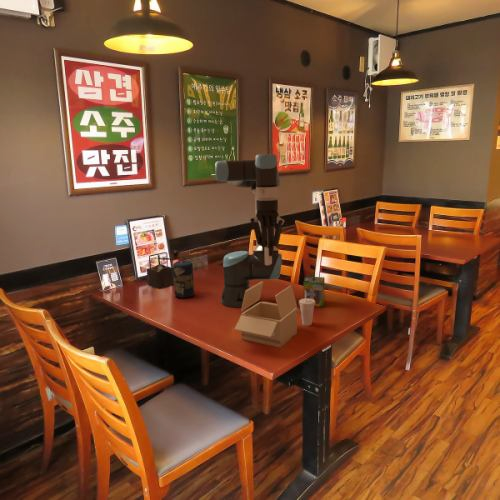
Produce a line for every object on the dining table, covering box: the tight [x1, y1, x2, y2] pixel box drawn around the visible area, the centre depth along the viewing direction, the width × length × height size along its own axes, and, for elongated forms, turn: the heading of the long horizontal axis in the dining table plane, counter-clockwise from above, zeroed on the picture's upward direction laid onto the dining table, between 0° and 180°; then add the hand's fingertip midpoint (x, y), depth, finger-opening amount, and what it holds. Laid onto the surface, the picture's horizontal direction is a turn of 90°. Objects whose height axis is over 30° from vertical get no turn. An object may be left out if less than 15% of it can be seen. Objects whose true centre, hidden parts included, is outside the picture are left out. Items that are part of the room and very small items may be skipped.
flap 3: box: [274, 285, 298, 318], centre depth 153 cm, size 8×13×1 cm
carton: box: [240, 301, 298, 349], centre depth 159 cm, size 16×14×10 cm
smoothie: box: [298, 290, 315, 326], centre depth 169 cm, size 6×6×14 cm
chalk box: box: [303, 270, 325, 308], centre depth 191 cm, size 9×9×15 cm
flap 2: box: [234, 314, 277, 337], centre depth 149 cm, size 15×6×1 cm
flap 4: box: [261, 301, 301, 313], centre depth 167 cm, size 15×6×1 cm
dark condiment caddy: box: [146, 250, 180, 290], centre depth 227 cm, size 16×11×18 cm
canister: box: [172, 260, 195, 299], centre depth 206 cm, size 10×10×18 cm
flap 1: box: [240, 280, 264, 312], centre depth 160 cm, size 8×13×1 cm
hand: (268, 264), depth 154 cm, fingers closed
